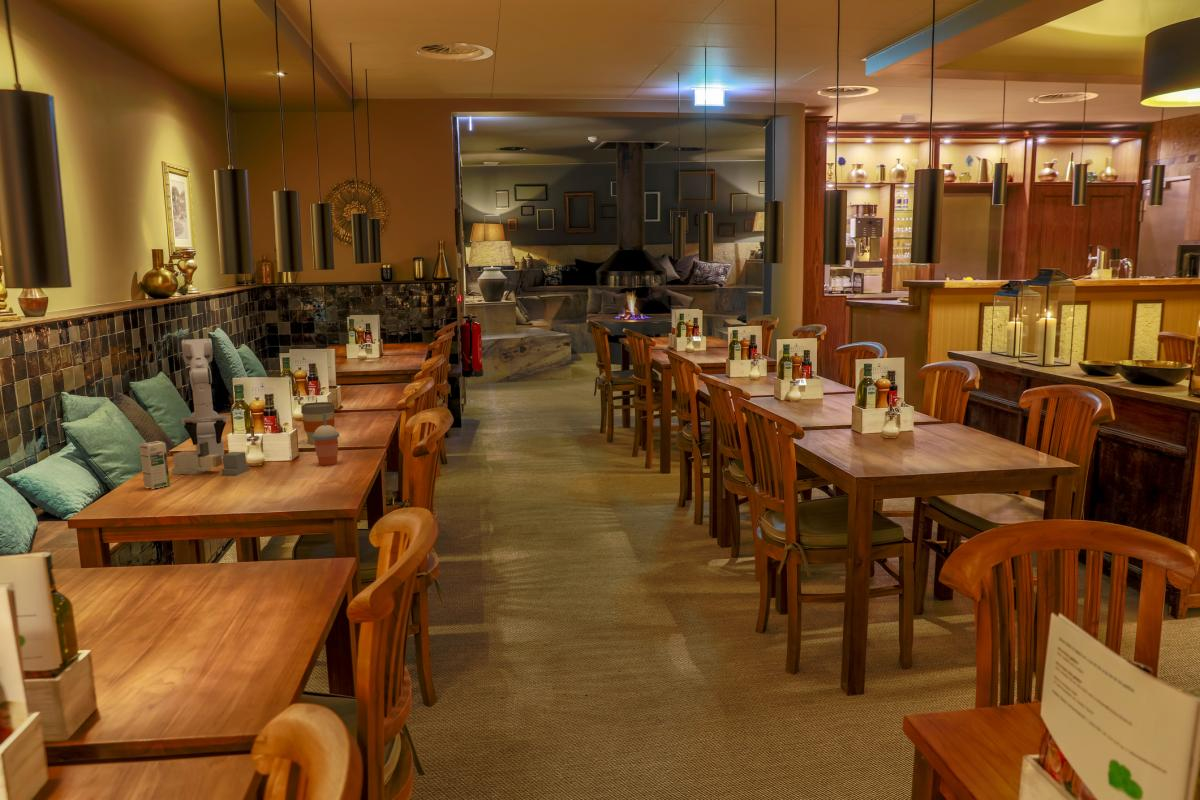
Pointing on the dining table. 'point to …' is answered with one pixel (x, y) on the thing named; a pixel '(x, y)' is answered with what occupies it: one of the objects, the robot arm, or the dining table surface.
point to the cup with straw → (326, 443)
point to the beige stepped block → (188, 463)
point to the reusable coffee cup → (316, 417)
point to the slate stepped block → (234, 463)
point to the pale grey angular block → (208, 457)
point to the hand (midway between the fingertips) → (207, 443)
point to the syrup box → (154, 464)
